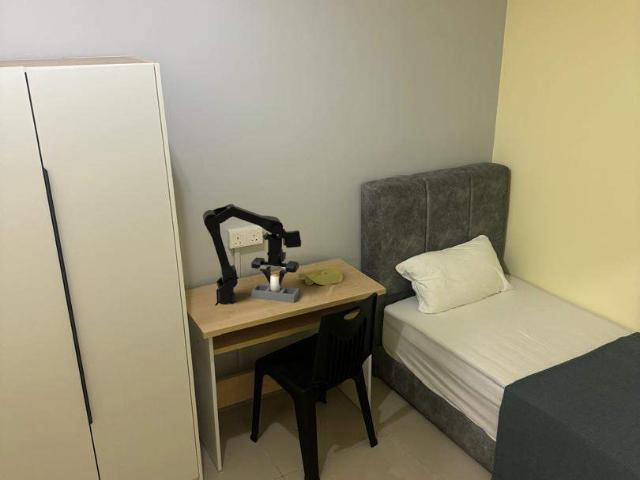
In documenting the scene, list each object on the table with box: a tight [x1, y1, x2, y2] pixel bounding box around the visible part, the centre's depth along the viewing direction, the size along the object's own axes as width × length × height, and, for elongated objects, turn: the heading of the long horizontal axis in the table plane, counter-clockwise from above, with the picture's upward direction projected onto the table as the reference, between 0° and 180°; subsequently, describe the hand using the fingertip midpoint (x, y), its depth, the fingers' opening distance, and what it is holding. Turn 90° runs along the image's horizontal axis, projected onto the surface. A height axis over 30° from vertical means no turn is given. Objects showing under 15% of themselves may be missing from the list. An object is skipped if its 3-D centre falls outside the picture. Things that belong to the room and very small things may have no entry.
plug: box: [269, 272, 281, 293], centre depth 241 cm, size 4×4×8 cm
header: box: [250, 283, 300, 304], centre depth 242 cm, size 18×8×4 cm, turn 77°
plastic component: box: [296, 265, 344, 286], centre depth 259 cm, size 20×7×10 cm
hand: (275, 284), depth 241 cm, fingers closed on plug, 4 cm apart
